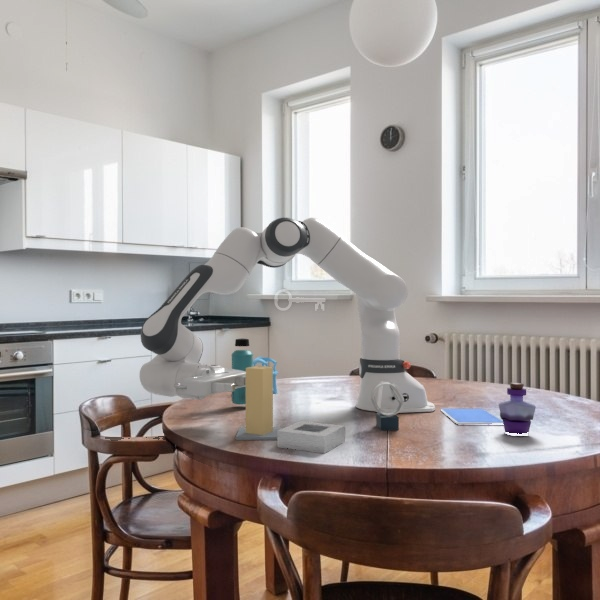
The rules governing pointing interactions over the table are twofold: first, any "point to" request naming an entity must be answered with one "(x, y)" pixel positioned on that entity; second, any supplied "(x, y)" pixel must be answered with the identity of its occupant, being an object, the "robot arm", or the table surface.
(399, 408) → the glass trophy
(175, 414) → the table surface
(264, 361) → the chair
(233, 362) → the beverage bottle
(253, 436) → the slate mat
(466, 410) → the tablet computer
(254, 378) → the ochre peg
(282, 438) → the socket block
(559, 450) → the table surface
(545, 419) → the table surface
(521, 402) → the potion bottle
